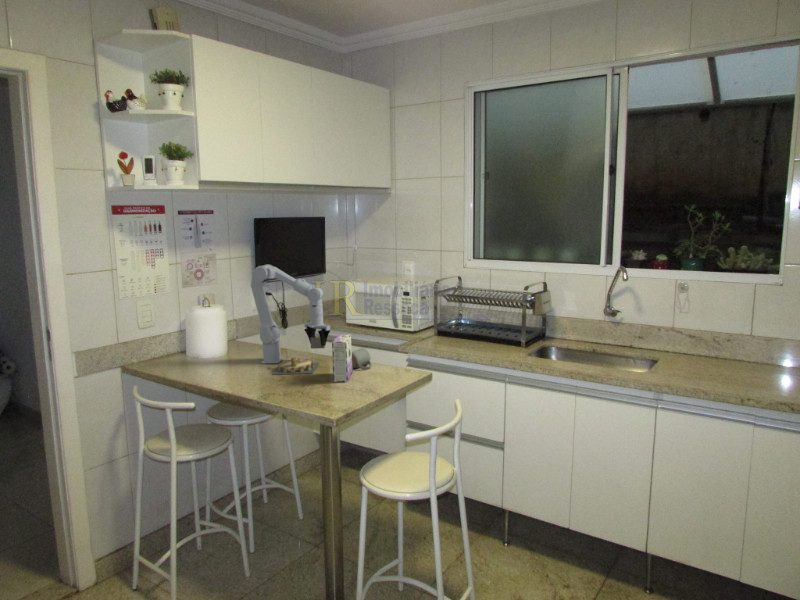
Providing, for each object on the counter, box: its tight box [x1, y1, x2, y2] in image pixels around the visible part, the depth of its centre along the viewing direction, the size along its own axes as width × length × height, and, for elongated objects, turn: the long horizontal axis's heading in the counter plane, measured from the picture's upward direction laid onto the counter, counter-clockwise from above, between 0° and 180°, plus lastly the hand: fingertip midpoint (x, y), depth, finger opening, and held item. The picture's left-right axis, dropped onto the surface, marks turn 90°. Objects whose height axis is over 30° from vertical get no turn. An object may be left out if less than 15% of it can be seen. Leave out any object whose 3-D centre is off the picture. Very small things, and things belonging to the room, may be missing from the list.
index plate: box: [271, 362, 320, 376], centre depth 237 cm, size 17×17×1 cm
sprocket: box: [277, 357, 315, 373], centre depth 236 cm, size 15×15×6 cm
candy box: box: [331, 334, 354, 383], centre depth 221 cm, size 14×6×16 cm, turn 177°
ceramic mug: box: [352, 347, 372, 371], centre depth 236 cm, size 11×8×8 cm
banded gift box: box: [309, 335, 326, 350], centre depth 246 cm, size 3×6×5 cm, turn 89°
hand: (317, 344), depth 247 cm, fingers closed on banded gift box, 7 cm apart
